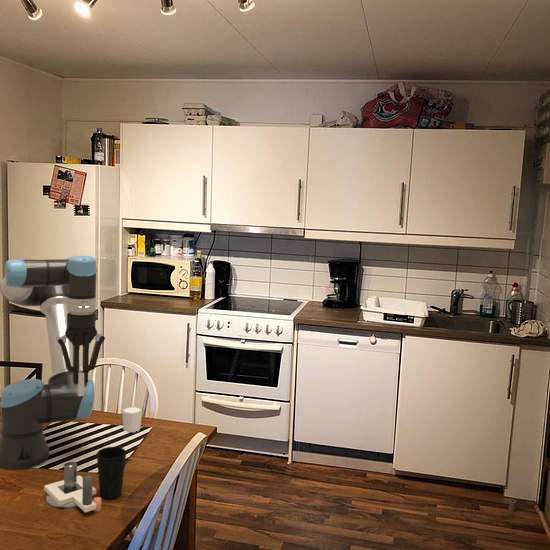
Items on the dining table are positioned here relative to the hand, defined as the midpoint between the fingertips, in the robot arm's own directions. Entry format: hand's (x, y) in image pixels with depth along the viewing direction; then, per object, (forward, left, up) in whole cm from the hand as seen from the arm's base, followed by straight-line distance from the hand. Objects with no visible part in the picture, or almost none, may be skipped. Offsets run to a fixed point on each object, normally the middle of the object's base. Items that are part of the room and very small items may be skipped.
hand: (80, 394), depth 169 cm
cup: (+14, -6, -25) cm, 29 cm away
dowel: (+15, -14, -24) cm, 32 cm away
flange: (+8, -12, -23) cm, 27 cm away
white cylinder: (-4, +36, -25) cm, 44 cm away
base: (+4, -11, -24) cm, 27 cm away
